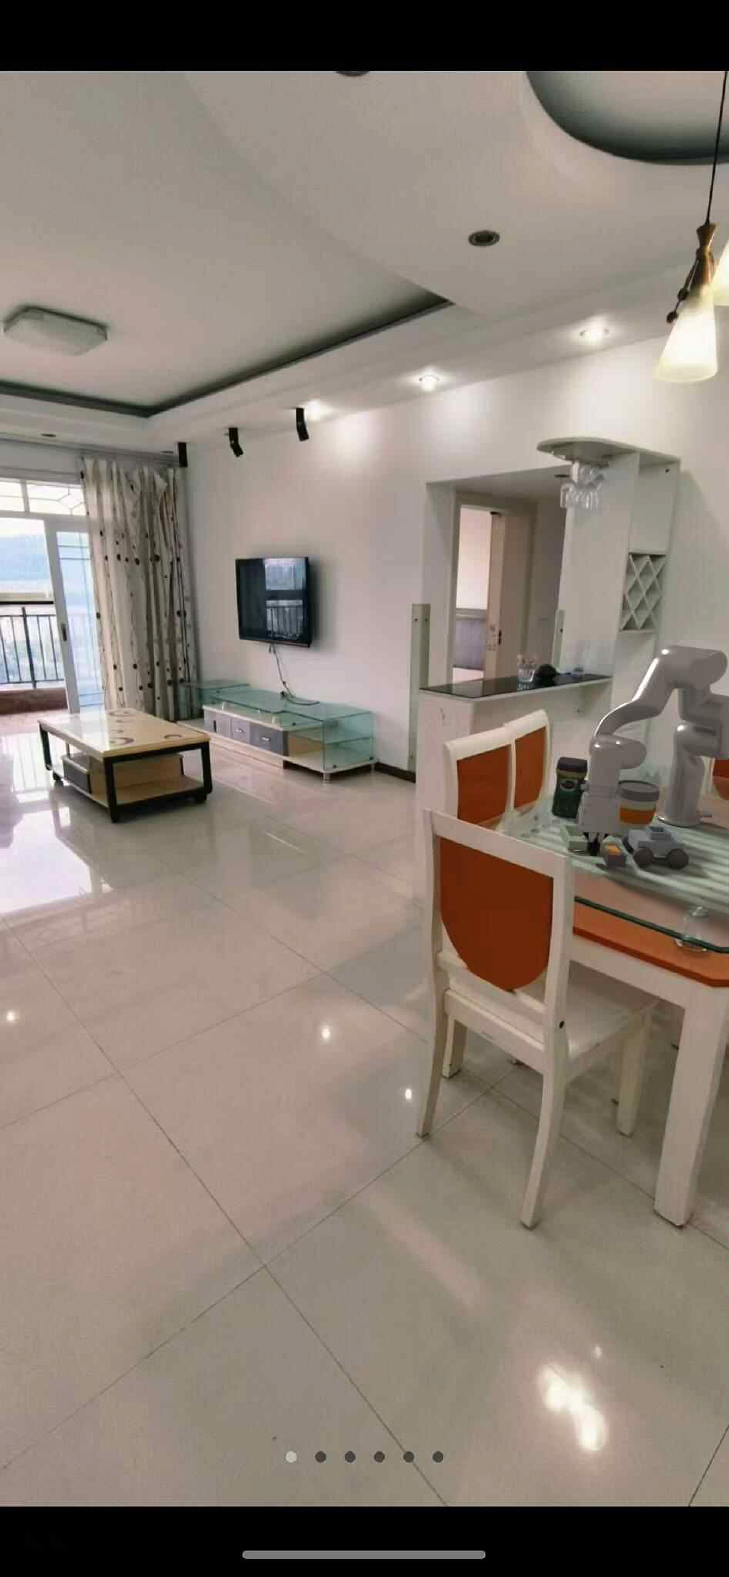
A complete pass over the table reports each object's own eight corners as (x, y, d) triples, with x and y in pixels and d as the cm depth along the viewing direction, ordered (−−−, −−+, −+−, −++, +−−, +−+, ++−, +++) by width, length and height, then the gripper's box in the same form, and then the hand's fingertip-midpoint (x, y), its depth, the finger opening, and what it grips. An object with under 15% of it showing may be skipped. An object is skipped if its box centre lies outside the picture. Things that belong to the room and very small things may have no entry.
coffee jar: (583, 812, 214) (591, 757, 209) (579, 820, 208) (587, 763, 202) (552, 807, 218) (560, 753, 212) (548, 814, 212) (555, 758, 206)
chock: (619, 861, 179) (621, 846, 178) (624, 868, 175) (627, 852, 174) (603, 861, 179) (605, 845, 178) (607, 867, 175) (610, 851, 174)
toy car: (671, 850, 187) (676, 822, 184) (687, 869, 175) (693, 839, 173) (620, 847, 188) (624, 819, 185) (633, 866, 176) (638, 836, 174)
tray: (603, 835, 196) (605, 826, 195) (615, 853, 184) (617, 843, 183) (558, 833, 197) (560, 823, 196) (567, 850, 185) (569, 840, 184)
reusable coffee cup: (624, 843, 191) (632, 793, 187) (599, 827, 203) (606, 780, 198) (661, 839, 195) (670, 791, 190) (634, 824, 206) (642, 778, 201)
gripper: (575, 793, 169) (566, 858, 175) (635, 795, 167) (624, 861, 173) (569, 783, 176) (561, 846, 182) (627, 786, 175) (617, 849, 181)
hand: (592, 853), depth 178 cm, fingers closed
